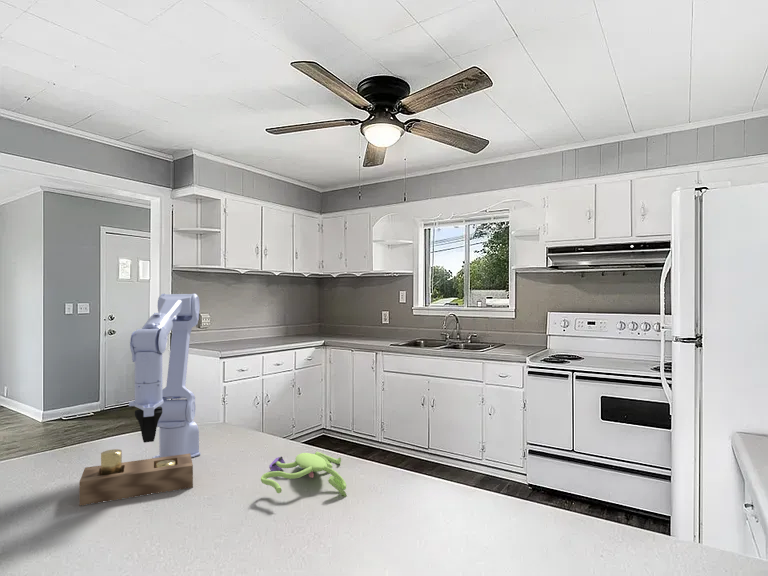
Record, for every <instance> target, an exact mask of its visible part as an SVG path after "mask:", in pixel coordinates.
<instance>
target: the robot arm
mask: <svg viewBox="0 0 768 576" xmlns="http://www.w3.org/2000/svg"><path fill="white" fill-rule="evenodd" d="M200 307H201V305H200V297H199V296H198V294H197V293H161V294H160V295H159V297H158V299H157V312H154V313H153V314H152V315H151V316H150V317H148V319H147V321H146V322H145V323H144V325H143V326H142V327H141V328H137V329H136V330H134V331H133V332H132V333H131V335H130V340H129V349H130V352H131V355H132V356H131V360H132V362H133V363H134V400H133V401H132V400H131V401H129V402H128V407H135V408H138V409H135V411H134V417H135V418H136V420H137V422H138V424H139V427H140V432H141V437H142V441H143V443H144V444H146V443H153V442H155V439H156V438H155V437H156V434H157V433H156V432H157V428H159V430H158V431H159V432H158V433H159V434H158V435H159V436H158V437H159V439H158V440H159V442H158V444H159V446H158V447H159V451H158V452H159V454H157V455H154V456H152V457H151V459H152V458H160V457H167V456H175V455H182V454H189V453H190V454H191V458H194V457H197V456H201V452H200V431H199V430H200V429H199V426H198V424H197V423H196V421H194V420H195V416H196V396H195V394H194V392H193V391H192V390H190V389H188V388H187V387H186V382H187V381H186V380H187V370H188V362H189V361H188V360H189V352H190V351H189V349H190V339H191V333H192V329H193V328H194V327H196V326H198V324H199V323H198V322H199V320H200V309H201V308H200ZM171 331H172V332H171ZM170 332H171V341H170V348H169V349H170V350H169V357H168V358H169V359H168V370H167V377H166V385H165V387H164V388H163V354H164V353H165V351H166V348H167V342H168V341H169V340H168V337H169V334H170Z"/></svg>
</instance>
